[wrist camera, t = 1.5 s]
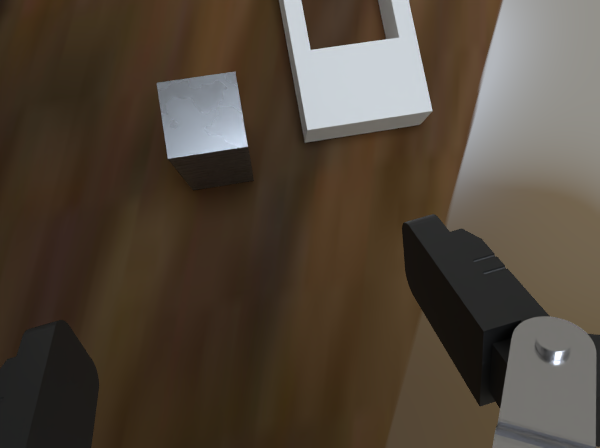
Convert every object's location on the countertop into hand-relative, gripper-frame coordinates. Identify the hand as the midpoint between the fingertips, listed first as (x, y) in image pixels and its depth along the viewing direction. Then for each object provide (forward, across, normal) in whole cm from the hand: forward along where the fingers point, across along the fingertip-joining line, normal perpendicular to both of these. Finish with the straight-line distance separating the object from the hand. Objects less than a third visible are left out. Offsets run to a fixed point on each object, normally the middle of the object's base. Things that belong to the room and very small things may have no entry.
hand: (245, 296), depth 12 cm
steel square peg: (+25, +1, +9) cm, 27 cm away
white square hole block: (+31, -11, +3) cm, 33 cm away
